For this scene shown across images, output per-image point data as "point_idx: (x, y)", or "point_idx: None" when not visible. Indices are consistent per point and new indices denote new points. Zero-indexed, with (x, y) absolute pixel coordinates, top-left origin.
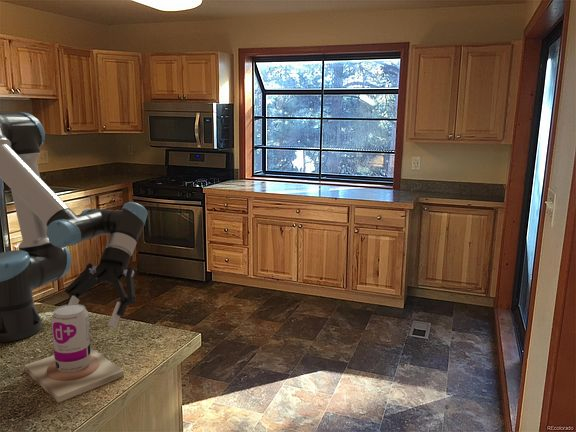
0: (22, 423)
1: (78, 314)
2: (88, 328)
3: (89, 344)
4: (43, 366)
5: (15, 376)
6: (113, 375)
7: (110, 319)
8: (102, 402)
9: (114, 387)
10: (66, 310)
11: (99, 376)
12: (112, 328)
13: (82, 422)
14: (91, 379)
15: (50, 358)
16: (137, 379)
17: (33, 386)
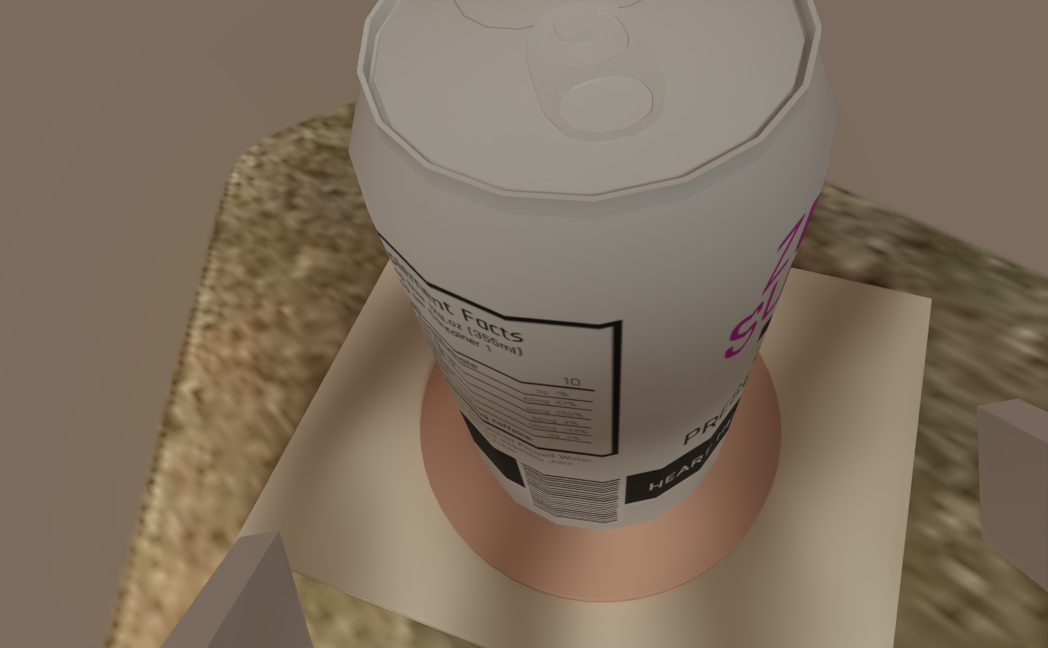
0: None
1: (372, 37)
2: (419, 322)
3: (459, 407)
4: (798, 340)
5: (885, 257)
6: (275, 472)
7: (244, 578)
8: (229, 299)
9: (242, 426)
10: (609, 7)
11: (349, 413)
12: (307, 642)
13: (234, 172)
14: (375, 366)
15: (875, 437)
16: (141, 566)
17: None
